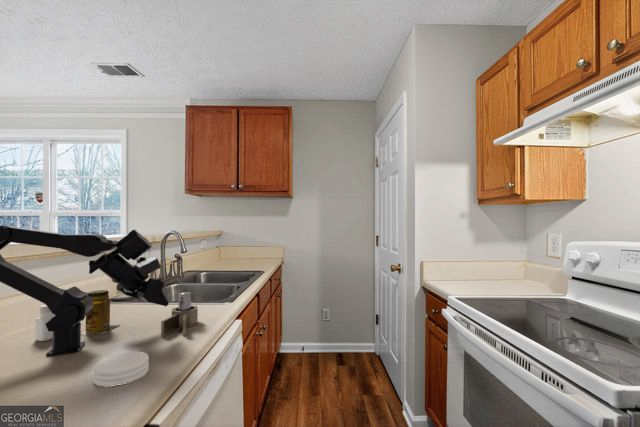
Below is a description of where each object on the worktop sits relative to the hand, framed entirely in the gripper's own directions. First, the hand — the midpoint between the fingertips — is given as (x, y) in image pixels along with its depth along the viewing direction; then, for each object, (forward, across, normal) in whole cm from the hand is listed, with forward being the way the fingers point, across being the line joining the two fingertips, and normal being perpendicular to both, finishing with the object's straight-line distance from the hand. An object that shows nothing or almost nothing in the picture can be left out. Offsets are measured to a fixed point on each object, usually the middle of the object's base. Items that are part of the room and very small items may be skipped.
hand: (159, 302), depth 94 cm
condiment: (-1, +16, +14) cm, 21 cm away
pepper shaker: (-9, +20, +22) cm, 31 cm away
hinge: (+10, -3, +2) cm, 10 cm away
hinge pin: (+12, 0, 0) cm, 12 cm away
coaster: (-7, -22, +19) cm, 30 cm away
